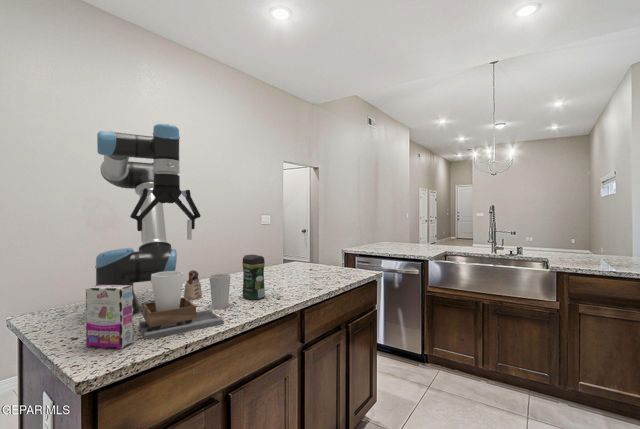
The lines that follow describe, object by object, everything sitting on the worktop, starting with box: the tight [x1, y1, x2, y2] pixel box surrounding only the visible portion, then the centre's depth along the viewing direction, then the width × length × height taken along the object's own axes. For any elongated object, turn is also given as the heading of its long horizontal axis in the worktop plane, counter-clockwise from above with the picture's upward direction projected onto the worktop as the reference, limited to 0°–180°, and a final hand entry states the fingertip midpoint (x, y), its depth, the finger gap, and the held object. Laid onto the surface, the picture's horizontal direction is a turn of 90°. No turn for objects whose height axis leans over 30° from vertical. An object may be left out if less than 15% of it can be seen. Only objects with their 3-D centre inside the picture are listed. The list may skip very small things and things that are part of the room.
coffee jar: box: [241, 254, 266, 301], centre depth 141 cm, size 10×8×19 cm
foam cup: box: [150, 270, 185, 312], centre depth 104 cm, size 10×9×13 cm
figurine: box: [183, 269, 203, 301], centre depth 142 cm, size 7×7×12 cm
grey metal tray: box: [138, 308, 225, 341], centre depth 107 cm, size 14×23×2 cm, turn 126°
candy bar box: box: [85, 284, 135, 350], centre depth 91 cm, size 11×5×16 cm, turn 81°
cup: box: [208, 273, 231, 310], centre depth 128 cm, size 8×8×12 cm
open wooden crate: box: [142, 297, 197, 329], centre depth 105 cm, size 13×13×5 cm
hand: (167, 240), depth 105 cm, fingers open, 13 cm apart
